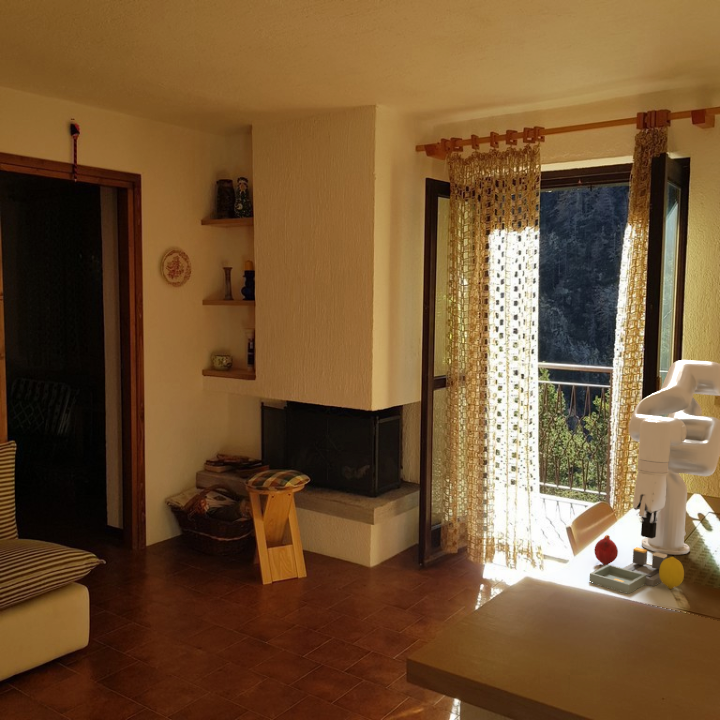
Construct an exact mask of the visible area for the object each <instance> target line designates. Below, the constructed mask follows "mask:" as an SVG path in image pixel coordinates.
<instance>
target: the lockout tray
mask: <svg viewBox="0 0 720 720" xmlns="http://www.w3.org/2000/svg"><path fill="white" fill-rule="evenodd" d="M623 568H624V567H619V566H616V565H612V564H610V563H609V564H608V565H603V566H602V567H600V568H598V569H596V570H594V571H592V572H590V573H589V581H591V582H593V583H595V584H594V585H597V584H599V585H598V586H600V585H601V587H603V588H607V589H610V590H613V591H617V592H622V593H624V594H629V595H630V594H631V593H632V591H633V592H634V591H636V590H637V588H638V589H639V588H641V587H643V586H644V585H646V584H645V579H646V575H645V574H641V573H638V572H634V571H631V570H627V569H623ZM589 581H588V582H589ZM593 583H592V584H593Z"/></svg>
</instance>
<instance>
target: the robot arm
mask: <svg viewBox="0 0 720 720" xmlns="http://www.w3.org/2000/svg"><path fill="white" fill-rule="evenodd" d="M695 394H696V395H708V396H719V397H720V363H718V362H716V361H707V360H693V359H692V360H691V359H681V360H676V361H675V362H673V363H672V364H671V365H670V366H669V368H668V371H667V373H666V376H665V378H664V381H663V384H662V386H661V387H660V390H657V391H656V392H653V393H651V394H650V395H647V396H646V397H644V398H643V399H641V400H640V401H639V402H638V403H637V405H636V406H635V408H634V410H633V411H632V415H631V418H630V420H629V424H628V434H629V435H628V436H630V438H631V439H632V440H633V441H635V442H638V457H637V458H638V459H637V469H636V470H637V476H636V479H635V485H634V493H633V503H632V508H633V509H634V510H635V511H637V510H639V513H638V516H639V517H641V529H640V531H641V532H640V536H641V537H644V538H643V539H642V540H641V546H642V547H643V549H646V550H647V551H652V552H653V553H655V552H658V553H662V554H666V555H672V556H673V555H674V556H677V555H687V554H688V553H689V552H690V546H689V545H688V544H687V543H685V536H686V534H687V532H686V530H685V528H686V515H687V502H688V501H687V499H688V487H687V484H686V482H685V480H684V479H683V477H682V476H681V475H680V474H685V475H692V476H700V477H709V476H712V475H714V473H715V471H716V469H717V466H718V463H719V460H720V419H719V418H717V417H714V416H709V415H702V413H703V411H702V407H701V405H700V403H699V402H698V401H697V400H696V399H695V398H694V395H695ZM664 415H667V416H664Z"/></svg>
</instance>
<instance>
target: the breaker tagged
mask: <svg viewBox="0 0 720 720" xmlns="http://www.w3.org/2000/svg"><path fill="white" fill-rule="evenodd" d="M632 550H633V551H632V553H633V555H632V563H636V564H640V565H645V564H647V563H648V562H647V561H648V549H646V548H641V547H638V546H637V547H634V548H633V549H632Z"/></svg>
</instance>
